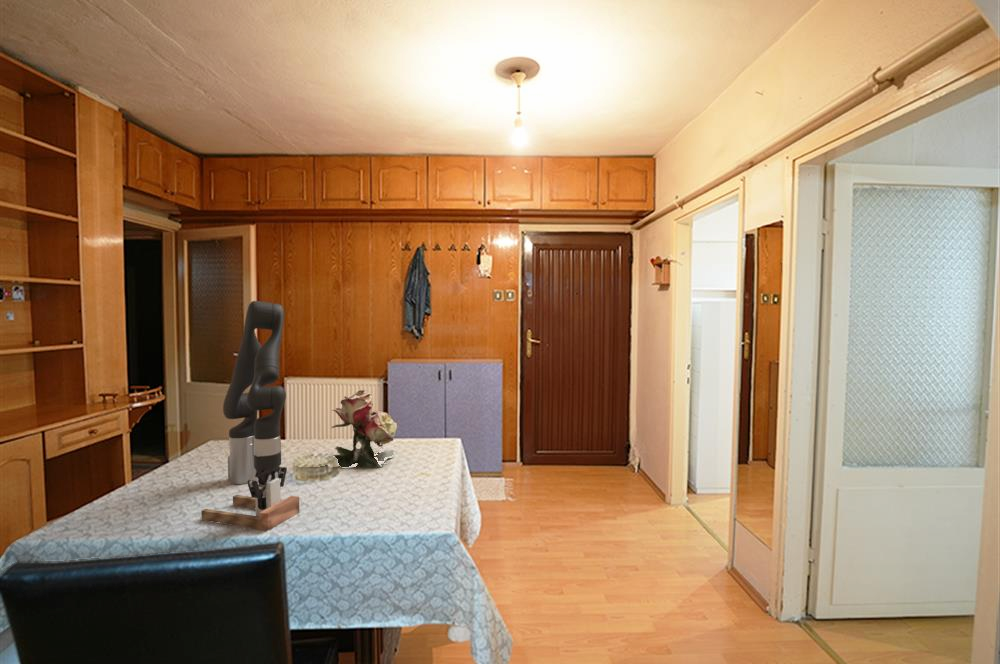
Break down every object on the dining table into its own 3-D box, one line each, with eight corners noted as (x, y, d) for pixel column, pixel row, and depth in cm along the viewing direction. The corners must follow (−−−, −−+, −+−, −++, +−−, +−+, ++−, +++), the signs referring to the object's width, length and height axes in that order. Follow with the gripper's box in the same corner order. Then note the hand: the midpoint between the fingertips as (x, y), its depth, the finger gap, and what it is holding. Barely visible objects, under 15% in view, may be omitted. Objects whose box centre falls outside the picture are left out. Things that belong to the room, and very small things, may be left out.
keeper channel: (201, 520, 142) (201, 504, 141) (236, 503, 154) (236, 488, 154) (268, 530, 135) (268, 513, 134) (299, 512, 147) (299, 496, 147)
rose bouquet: (393, 468, 189) (392, 395, 188) (321, 469, 189) (320, 396, 188) (405, 450, 215) (404, 386, 214) (342, 450, 214) (341, 386, 213)
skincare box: (281, 516, 144) (280, 478, 143) (271, 522, 140) (270, 483, 139) (265, 513, 145) (264, 476, 145) (255, 519, 141) (254, 481, 141)
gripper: (274, 443, 149) (275, 495, 150) (238, 456, 136) (239, 514, 136) (294, 445, 147) (294, 498, 148) (259, 459, 134) (260, 517, 134)
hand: (268, 505), depth 142 cm, fingers closed on skincare box, 4 cm apart
